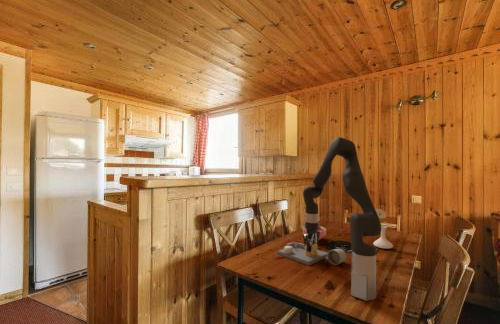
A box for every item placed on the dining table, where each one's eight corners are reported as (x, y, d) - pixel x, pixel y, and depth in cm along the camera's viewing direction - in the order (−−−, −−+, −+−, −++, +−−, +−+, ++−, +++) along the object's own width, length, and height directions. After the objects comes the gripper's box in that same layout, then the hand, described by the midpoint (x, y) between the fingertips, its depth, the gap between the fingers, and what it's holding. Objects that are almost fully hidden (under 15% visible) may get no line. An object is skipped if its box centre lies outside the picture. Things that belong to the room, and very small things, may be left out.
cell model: (300, 242, 170) (300, 225, 170) (303, 234, 189) (303, 220, 189) (326, 244, 165) (326, 228, 165) (325, 236, 184) (326, 221, 184)
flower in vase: (397, 249, 157) (397, 210, 158) (384, 251, 153) (384, 211, 154) (379, 243, 169) (379, 207, 170) (367, 245, 165) (367, 208, 166)
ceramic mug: (347, 262, 134) (347, 248, 134) (340, 266, 128) (339, 252, 128) (330, 257, 142) (329, 244, 142) (322, 261, 136) (322, 247, 136)
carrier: (308, 265, 129) (308, 255, 130) (277, 254, 146) (277, 244, 146) (328, 256, 143) (328, 247, 143) (297, 247, 159) (298, 238, 159)
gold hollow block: (313, 257, 135) (313, 246, 135) (302, 254, 140) (302, 243, 140) (320, 255, 140) (320, 243, 140) (309, 251, 145) (309, 240, 145)
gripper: (310, 224, 133) (309, 255, 132) (324, 220, 142) (324, 249, 142) (298, 221, 138) (298, 251, 138) (313, 218, 148) (313, 246, 148)
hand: (311, 250), depth 140 cm, fingers closed on gold hollow block, 4 cm apart
